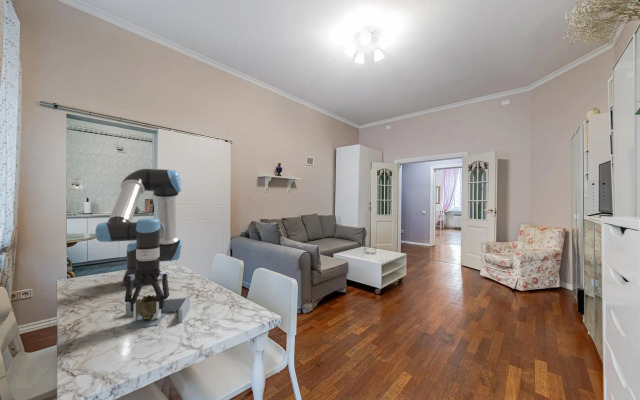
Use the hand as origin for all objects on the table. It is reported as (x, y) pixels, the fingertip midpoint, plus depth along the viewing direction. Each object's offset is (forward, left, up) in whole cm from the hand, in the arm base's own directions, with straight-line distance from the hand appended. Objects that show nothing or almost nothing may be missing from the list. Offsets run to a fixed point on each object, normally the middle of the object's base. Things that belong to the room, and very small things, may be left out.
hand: (147, 318), depth 97 cm
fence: (-2, +2, -1) cm, 3 cm away
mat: (0, 0, -1) cm, 1 cm away
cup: (0, 0, -1) cm, 1 cm away
